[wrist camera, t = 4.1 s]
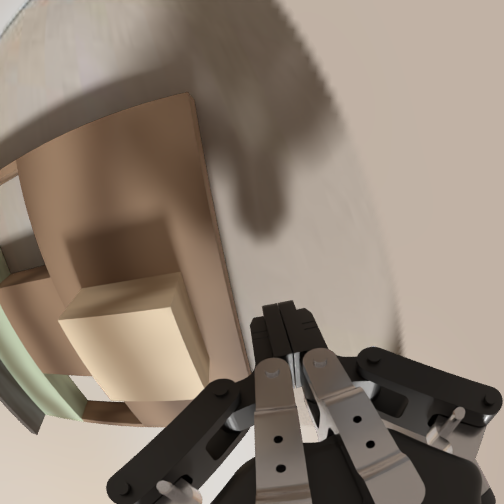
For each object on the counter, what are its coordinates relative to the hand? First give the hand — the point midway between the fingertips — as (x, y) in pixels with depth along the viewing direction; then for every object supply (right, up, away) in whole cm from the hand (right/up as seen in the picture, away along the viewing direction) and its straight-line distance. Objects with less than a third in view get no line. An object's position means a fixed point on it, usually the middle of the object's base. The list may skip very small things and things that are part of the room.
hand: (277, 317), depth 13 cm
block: (-7, -1, +1) cm, 7 cm away
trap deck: (-14, -1, +3) cm, 15 cm away
